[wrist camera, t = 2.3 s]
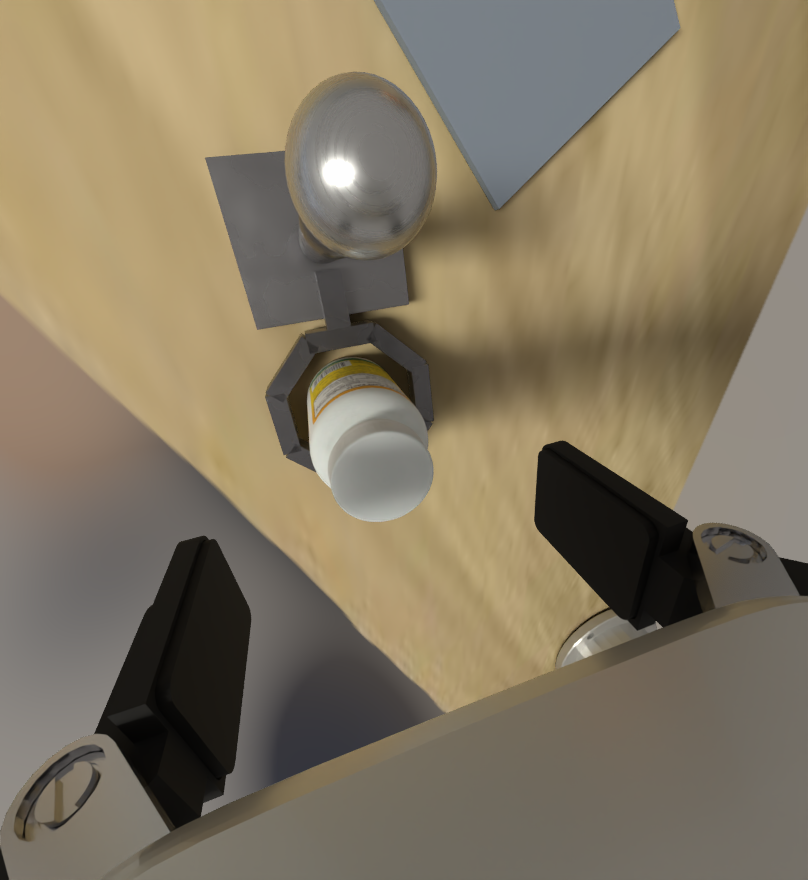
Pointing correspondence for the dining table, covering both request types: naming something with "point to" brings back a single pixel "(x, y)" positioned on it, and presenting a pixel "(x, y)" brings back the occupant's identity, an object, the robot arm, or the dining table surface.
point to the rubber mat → (523, 71)
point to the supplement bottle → (367, 440)
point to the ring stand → (332, 228)
